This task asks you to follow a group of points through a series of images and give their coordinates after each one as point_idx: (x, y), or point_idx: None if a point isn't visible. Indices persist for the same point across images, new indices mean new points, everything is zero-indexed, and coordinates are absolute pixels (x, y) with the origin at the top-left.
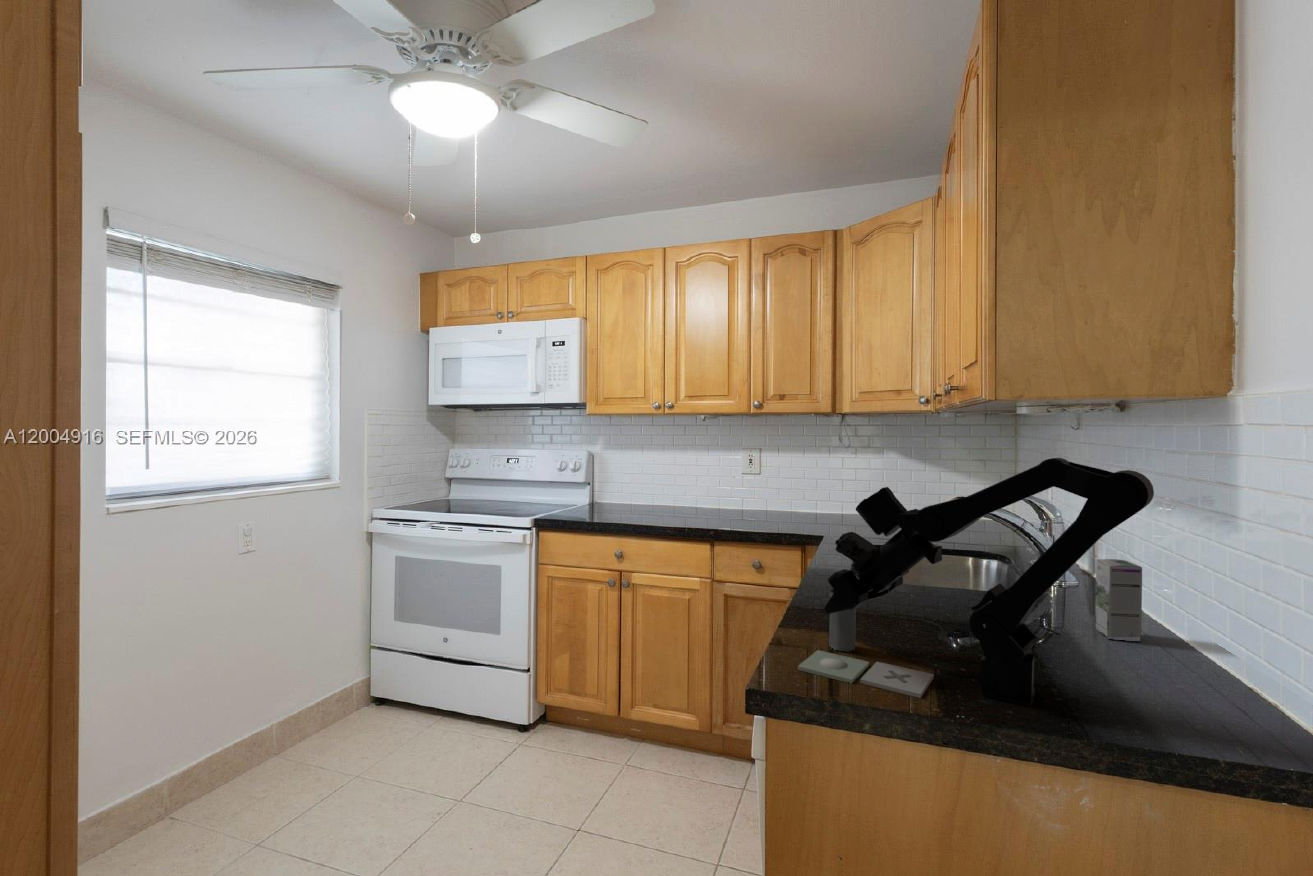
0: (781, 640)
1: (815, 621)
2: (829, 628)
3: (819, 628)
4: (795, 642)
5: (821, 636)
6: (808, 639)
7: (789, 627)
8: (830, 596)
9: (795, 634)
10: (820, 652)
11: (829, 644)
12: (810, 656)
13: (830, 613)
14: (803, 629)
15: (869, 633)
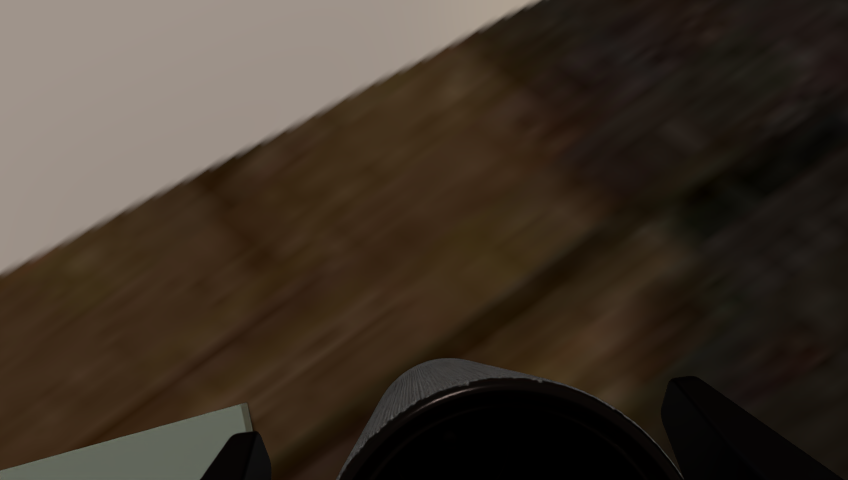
0: (270, 139)
1: (692, 66)
2: (401, 379)
3: (613, 151)
4: (305, 207)
5: (510, 240)
6: (406, 223)
7: (483, 39)
8: (363, 435)
9: (415, 128)
10: (218, 440)
11: (392, 383)
12: (113, 443)
13: (371, 417)
14: (521, 105)
15: (803, 394)
